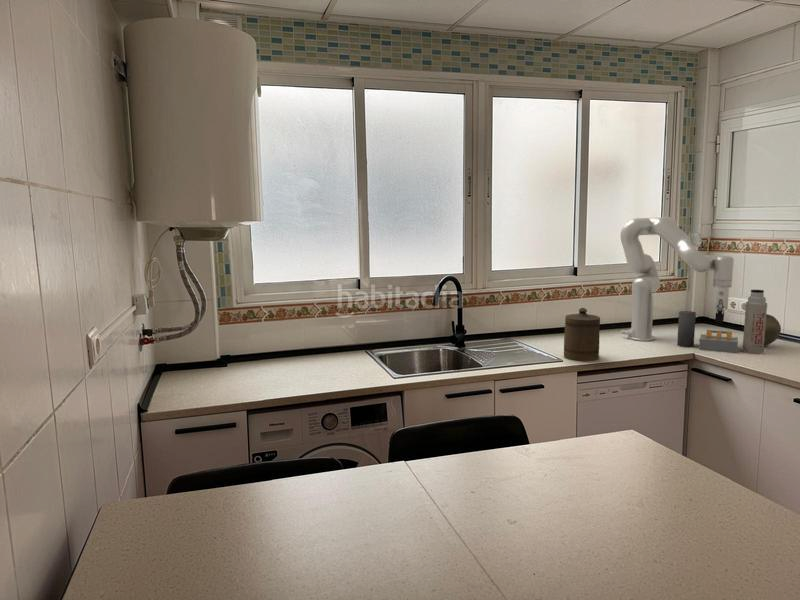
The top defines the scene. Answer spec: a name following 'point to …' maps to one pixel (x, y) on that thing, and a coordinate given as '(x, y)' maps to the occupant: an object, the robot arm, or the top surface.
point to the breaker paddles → (719, 333)
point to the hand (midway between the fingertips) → (719, 320)
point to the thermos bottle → (755, 323)
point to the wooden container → (581, 336)
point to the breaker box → (718, 343)
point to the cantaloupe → (771, 329)
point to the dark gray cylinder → (686, 329)
